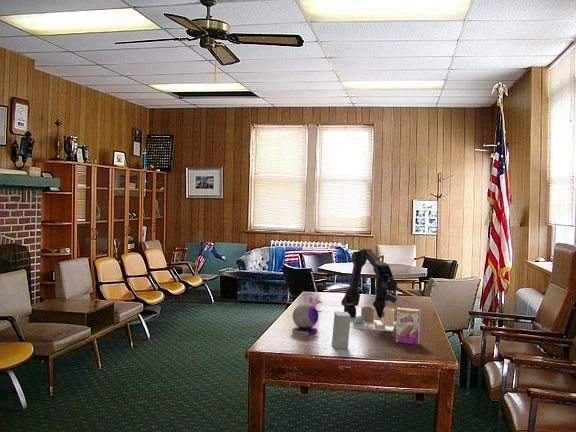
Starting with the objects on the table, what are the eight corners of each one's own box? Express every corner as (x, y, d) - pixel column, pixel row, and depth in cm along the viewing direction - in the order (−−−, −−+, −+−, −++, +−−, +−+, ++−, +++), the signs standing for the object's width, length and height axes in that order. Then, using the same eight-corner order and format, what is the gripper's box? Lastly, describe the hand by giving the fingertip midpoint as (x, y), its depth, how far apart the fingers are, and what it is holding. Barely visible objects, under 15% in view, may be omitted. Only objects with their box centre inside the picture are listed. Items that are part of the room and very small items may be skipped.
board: (352, 328, 313) (353, 313, 313) (358, 319, 334) (359, 305, 334) (392, 331, 308) (393, 316, 308) (396, 323, 329) (396, 308, 329)
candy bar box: (394, 342, 284) (395, 309, 284) (396, 340, 289) (397, 307, 288) (418, 345, 281) (419, 311, 280) (419, 343, 285) (420, 309, 285)
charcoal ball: (376, 318, 311) (376, 310, 311) (377, 316, 315) (377, 309, 314) (383, 318, 310) (384, 311, 310) (384, 317, 314) (384, 309, 313)
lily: (325, 312, 359) (321, 297, 363) (322, 307, 349) (318, 292, 352) (306, 317, 361) (302, 302, 365) (302, 313, 350) (299, 297, 354)
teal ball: (355, 324, 314) (355, 316, 314) (356, 322, 318) (356, 315, 318) (362, 324, 313) (362, 317, 313) (363, 323, 317) (363, 315, 317)
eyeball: (309, 337, 291) (310, 306, 290) (287, 333, 298) (288, 303, 297) (322, 332, 302) (322, 303, 301) (300, 328, 309) (301, 300, 308)
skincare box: (331, 344, 278) (332, 310, 277) (346, 344, 278) (347, 311, 278) (334, 349, 269) (335, 314, 269) (349, 349, 270) (351, 314, 269)
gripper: (395, 291, 300) (394, 322, 301) (398, 286, 318) (397, 315, 319) (373, 290, 303) (372, 320, 304) (377, 285, 321) (376, 313, 322)
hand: (380, 317), depth 312 cm, fingers closed on charcoal ball, 4 cm apart
